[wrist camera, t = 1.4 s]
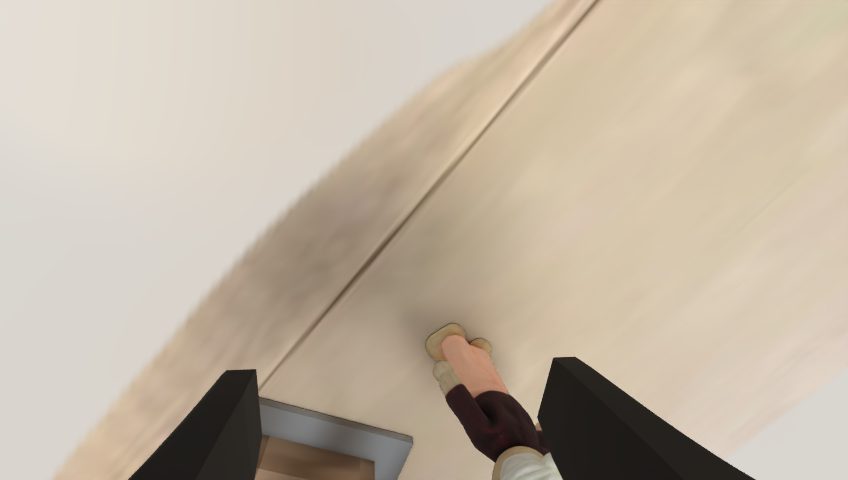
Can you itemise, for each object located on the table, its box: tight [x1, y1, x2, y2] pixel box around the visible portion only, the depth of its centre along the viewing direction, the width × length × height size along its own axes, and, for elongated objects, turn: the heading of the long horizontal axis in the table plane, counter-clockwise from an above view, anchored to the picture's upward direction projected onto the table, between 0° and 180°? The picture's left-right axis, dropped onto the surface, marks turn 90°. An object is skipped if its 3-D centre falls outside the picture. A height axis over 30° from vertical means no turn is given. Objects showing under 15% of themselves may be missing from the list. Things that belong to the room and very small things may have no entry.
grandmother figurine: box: [426, 324, 563, 480], centre depth 20 cm, size 8×4×13 cm, turn 65°
